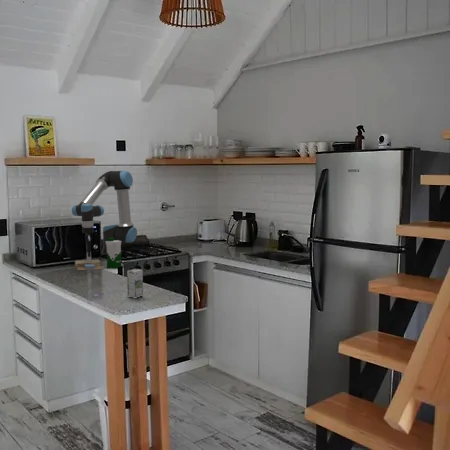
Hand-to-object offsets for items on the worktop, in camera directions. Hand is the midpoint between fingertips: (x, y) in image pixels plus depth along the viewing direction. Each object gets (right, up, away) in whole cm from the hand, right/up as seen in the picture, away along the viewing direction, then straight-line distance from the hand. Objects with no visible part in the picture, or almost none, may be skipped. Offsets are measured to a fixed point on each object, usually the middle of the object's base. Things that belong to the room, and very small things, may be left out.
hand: (89, 261), depth 370 cm
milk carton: (+18, -4, -2) cm, 18 cm away
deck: (-2, -3, +5) cm, 6 cm away
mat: (+2, -4, -6) cm, 7 cm away
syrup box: (+46, -13, -86) cm, 98 cm away
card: (+2, -4, -6) cm, 7 cm away
